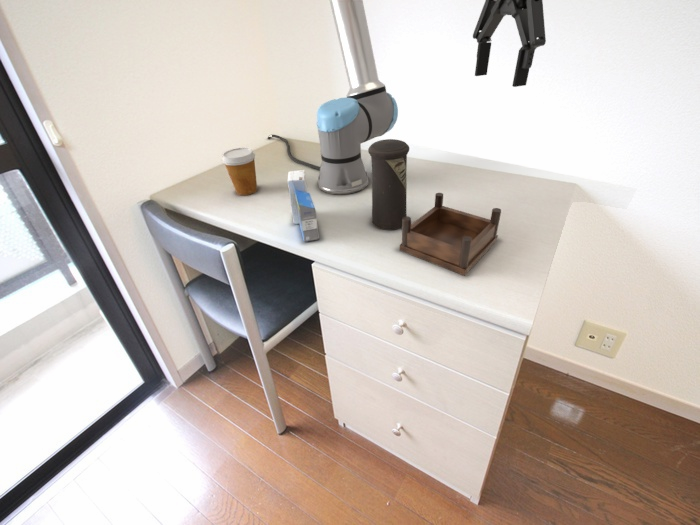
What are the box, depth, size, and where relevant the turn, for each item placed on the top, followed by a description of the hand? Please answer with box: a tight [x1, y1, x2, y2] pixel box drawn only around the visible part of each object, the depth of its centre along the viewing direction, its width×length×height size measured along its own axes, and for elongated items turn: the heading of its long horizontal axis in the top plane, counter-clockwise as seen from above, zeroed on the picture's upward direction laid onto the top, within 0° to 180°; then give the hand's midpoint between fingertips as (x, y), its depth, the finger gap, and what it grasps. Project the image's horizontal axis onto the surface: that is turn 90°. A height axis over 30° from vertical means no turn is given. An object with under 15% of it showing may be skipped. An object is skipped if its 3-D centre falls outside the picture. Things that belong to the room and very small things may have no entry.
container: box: [367, 138, 410, 231], centre depth 86 cm, size 9×9×20 cm
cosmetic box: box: [287, 169, 309, 225], centre depth 93 cm, size 6×4×12 cm
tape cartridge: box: [292, 180, 320, 243], centre depth 87 cm, size 9×4×12 cm, turn 13°
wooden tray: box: [399, 192, 502, 277], centre depth 80 cm, size 16×16×8 cm
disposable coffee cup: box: [221, 147, 258, 196], centre depth 110 cm, size 10×10×12 cm
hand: (498, 80), depth 81 cm, fingers open, 13 cm apart
